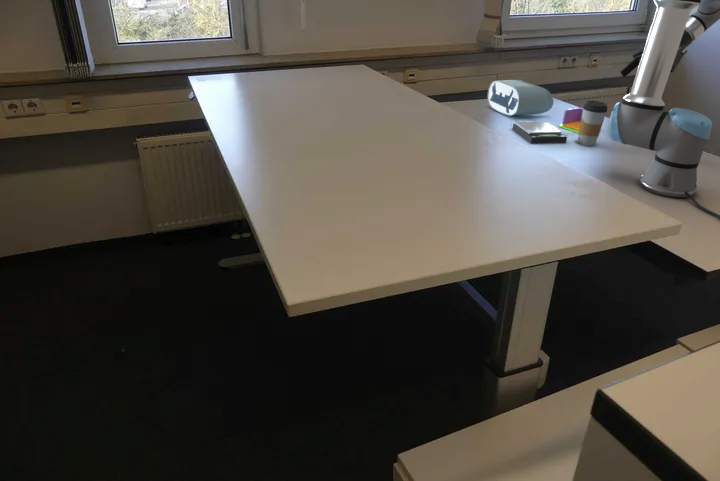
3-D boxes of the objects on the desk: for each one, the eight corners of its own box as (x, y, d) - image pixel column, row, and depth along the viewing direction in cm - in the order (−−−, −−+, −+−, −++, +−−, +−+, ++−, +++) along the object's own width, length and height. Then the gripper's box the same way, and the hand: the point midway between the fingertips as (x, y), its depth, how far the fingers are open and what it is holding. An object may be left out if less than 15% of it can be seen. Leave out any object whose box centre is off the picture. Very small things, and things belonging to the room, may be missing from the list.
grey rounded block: (485, 106, 238) (489, 77, 232) (519, 104, 245) (524, 75, 239) (515, 120, 221) (521, 89, 214) (551, 117, 227) (558, 87, 221)
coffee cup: (599, 148, 194) (611, 107, 186) (576, 145, 195) (586, 105, 188) (595, 140, 201) (606, 101, 194) (572, 138, 202) (582, 99, 195)
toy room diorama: (576, 122, 222) (580, 106, 218) (600, 130, 213) (605, 113, 210) (557, 126, 216) (560, 109, 213) (581, 134, 207) (586, 117, 204)
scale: (565, 143, 197) (567, 134, 196) (530, 143, 195) (532, 135, 194) (545, 129, 212) (546, 121, 210) (512, 129, 210) (513, 121, 208)
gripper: (715, 49, 175) (661, 95, 180) (665, 36, 196) (617, 78, 201) (707, 31, 171) (652, 79, 176) (656, 21, 192) (608, 63, 197)
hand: (633, 79), depth 188 cm, fingers open, 13 cm apart
